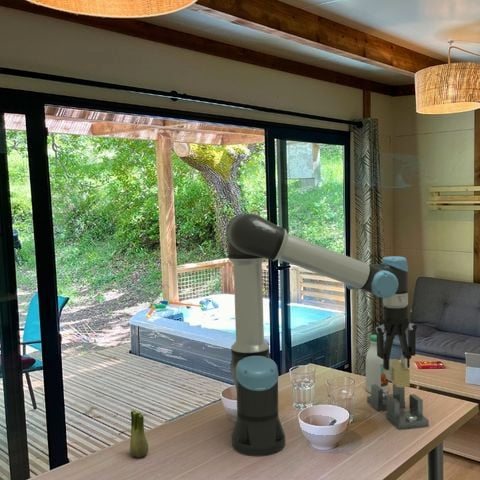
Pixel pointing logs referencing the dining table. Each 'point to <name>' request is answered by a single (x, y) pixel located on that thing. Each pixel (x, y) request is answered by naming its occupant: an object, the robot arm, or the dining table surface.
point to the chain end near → (406, 413)
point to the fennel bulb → (138, 435)
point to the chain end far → (385, 397)
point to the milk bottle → (375, 368)
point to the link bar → (400, 374)
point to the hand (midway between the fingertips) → (396, 378)
